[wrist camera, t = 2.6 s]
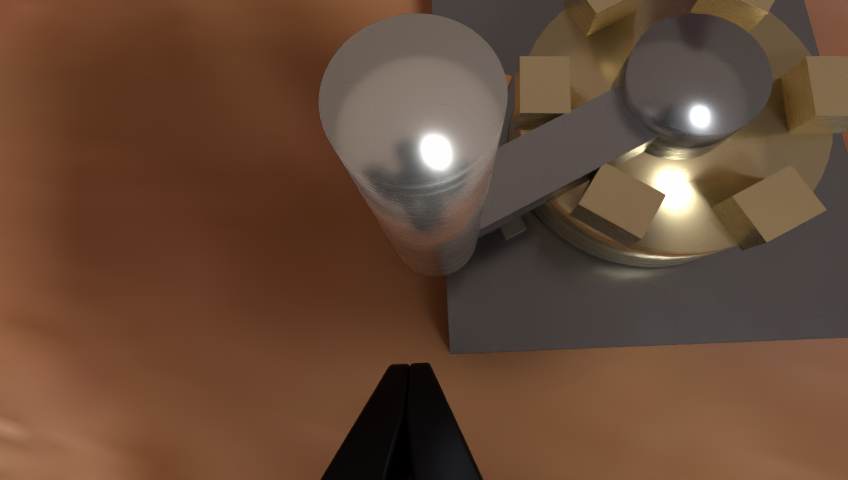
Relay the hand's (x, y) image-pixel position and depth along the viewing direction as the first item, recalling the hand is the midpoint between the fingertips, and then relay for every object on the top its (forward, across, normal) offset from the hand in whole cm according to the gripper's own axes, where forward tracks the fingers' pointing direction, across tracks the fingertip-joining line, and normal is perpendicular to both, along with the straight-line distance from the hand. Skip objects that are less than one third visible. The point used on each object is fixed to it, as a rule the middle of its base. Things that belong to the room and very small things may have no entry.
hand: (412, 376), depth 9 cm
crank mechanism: (+8, -6, -1) cm, 10 cm away
